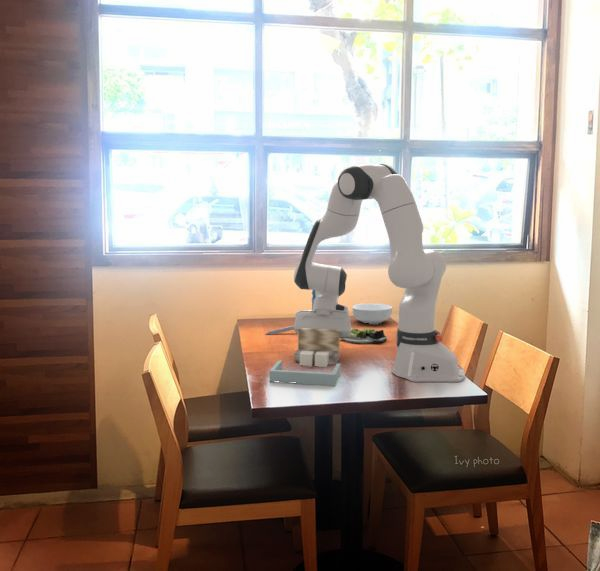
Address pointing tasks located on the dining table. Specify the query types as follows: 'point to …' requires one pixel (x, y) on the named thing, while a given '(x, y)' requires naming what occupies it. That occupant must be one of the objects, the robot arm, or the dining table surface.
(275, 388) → the dining table surface
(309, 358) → the cream block
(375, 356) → the dining table surface
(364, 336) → the salad plate
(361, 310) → the cereal bowl
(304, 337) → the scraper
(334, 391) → the dining table surface
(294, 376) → the tray
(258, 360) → the dining table surface
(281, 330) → the caliper
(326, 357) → the cream block
